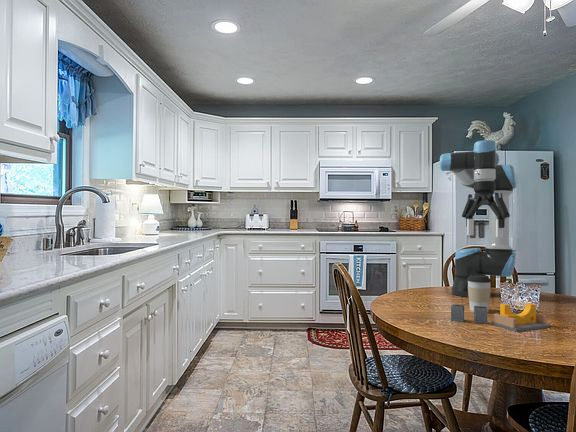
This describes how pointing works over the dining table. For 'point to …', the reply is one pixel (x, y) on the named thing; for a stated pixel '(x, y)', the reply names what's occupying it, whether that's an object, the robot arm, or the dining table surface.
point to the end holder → (511, 324)
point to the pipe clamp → (523, 317)
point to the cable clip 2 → (480, 314)
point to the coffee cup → (479, 291)
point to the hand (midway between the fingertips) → (484, 236)
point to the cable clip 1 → (457, 313)
